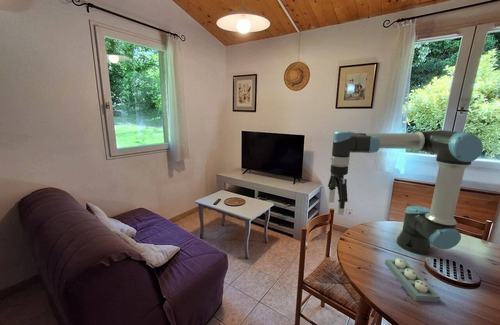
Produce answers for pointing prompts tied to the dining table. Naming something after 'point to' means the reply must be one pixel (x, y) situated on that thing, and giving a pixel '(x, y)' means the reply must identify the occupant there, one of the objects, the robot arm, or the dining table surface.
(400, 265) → the button
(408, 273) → the button
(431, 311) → the dining table surface
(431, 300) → the button board
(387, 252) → the dining table surface
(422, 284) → the button
